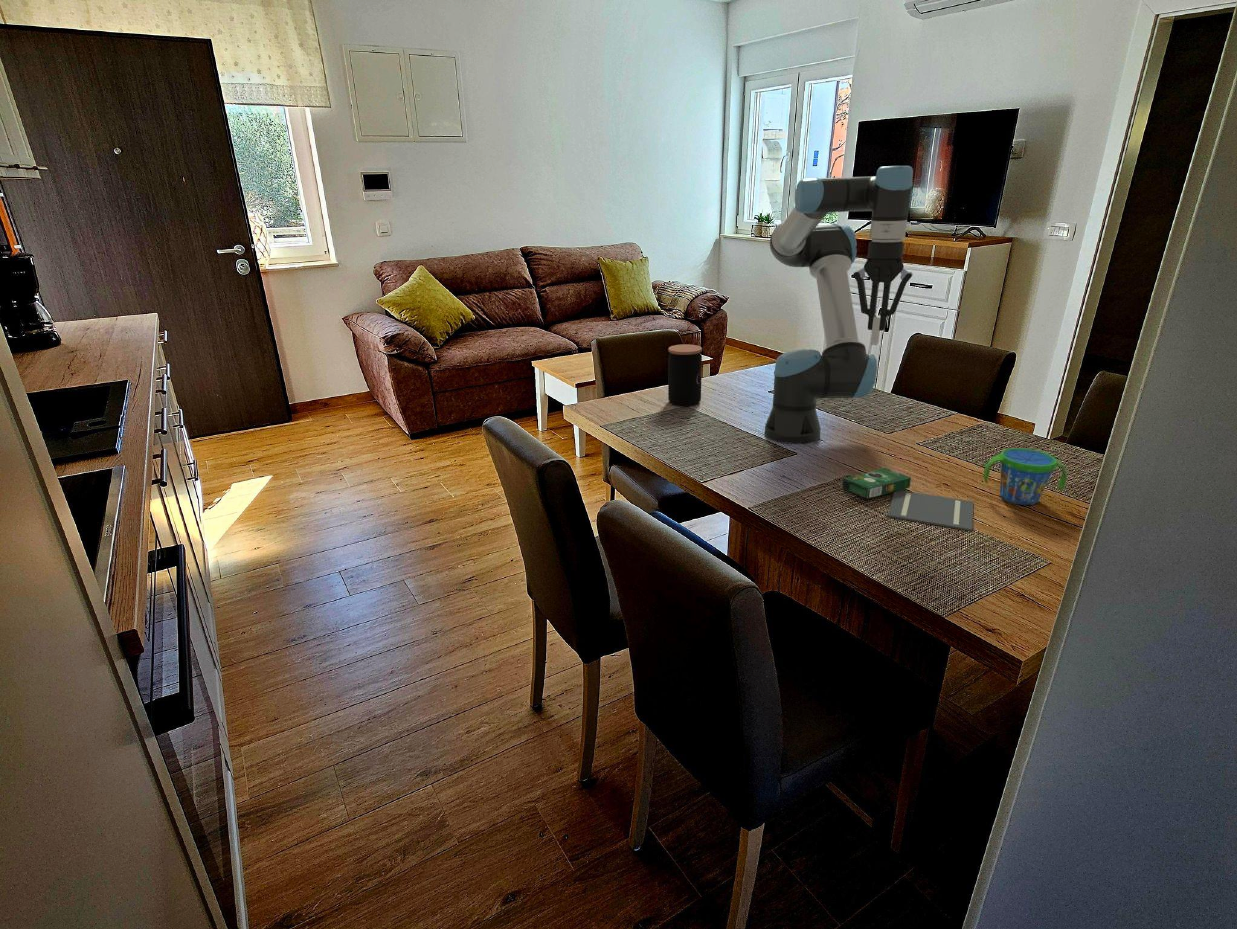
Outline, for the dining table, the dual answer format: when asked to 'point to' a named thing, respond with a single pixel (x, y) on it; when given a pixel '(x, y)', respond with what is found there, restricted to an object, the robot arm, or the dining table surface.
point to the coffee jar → (684, 375)
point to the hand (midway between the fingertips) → (874, 343)
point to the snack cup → (1024, 474)
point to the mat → (932, 509)
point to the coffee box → (876, 483)
